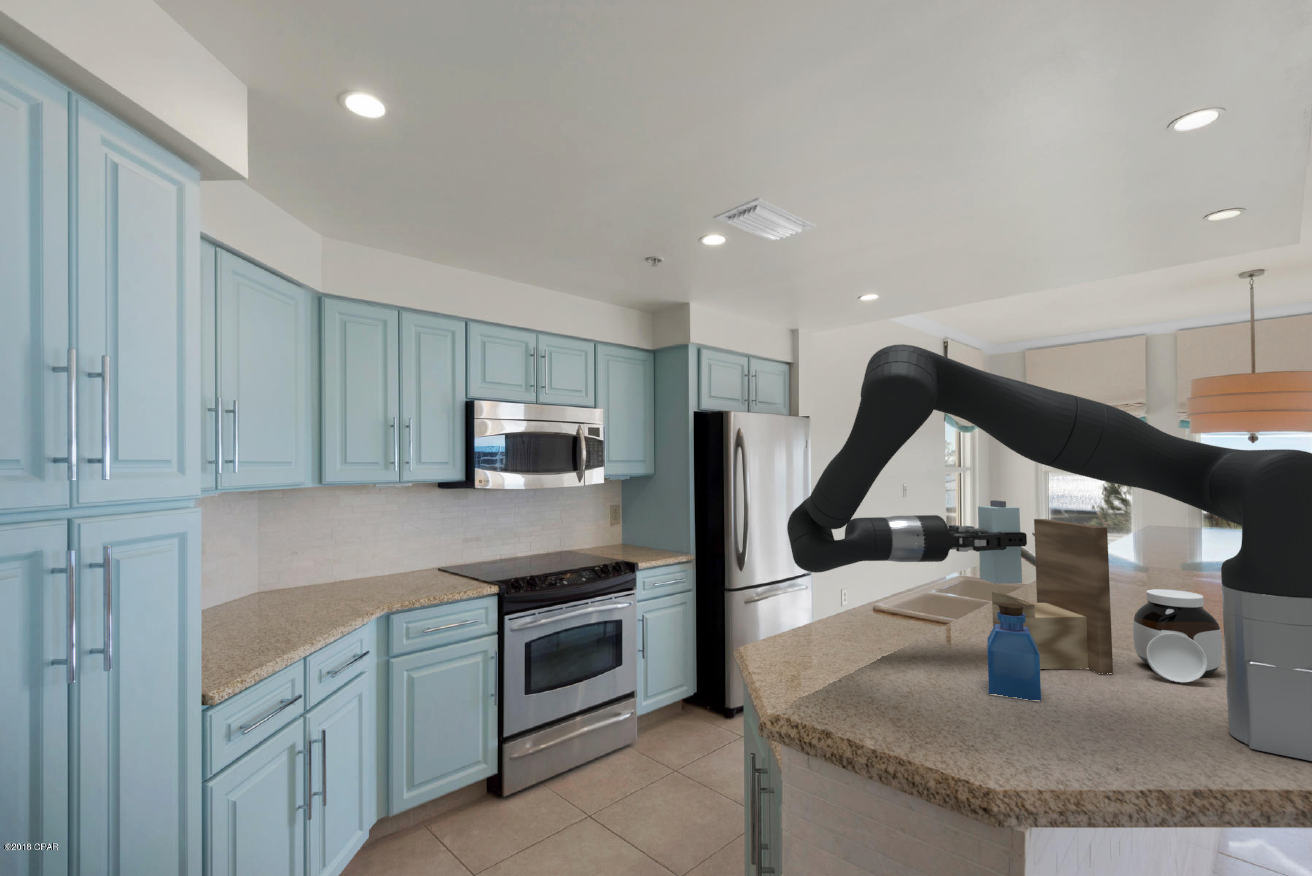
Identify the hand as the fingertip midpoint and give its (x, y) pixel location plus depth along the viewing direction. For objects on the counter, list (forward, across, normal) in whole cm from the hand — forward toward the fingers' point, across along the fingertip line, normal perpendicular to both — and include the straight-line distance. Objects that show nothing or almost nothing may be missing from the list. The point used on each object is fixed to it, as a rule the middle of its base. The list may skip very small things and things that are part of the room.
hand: (1015, 537), depth 103 cm
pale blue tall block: (-3, 0, +7) cm, 8 cm away
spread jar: (+20, -7, +20) cm, 29 cm away
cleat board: (+4, 0, +20) cm, 20 cm away
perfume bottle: (-9, -14, +20) cm, 26 cm away
